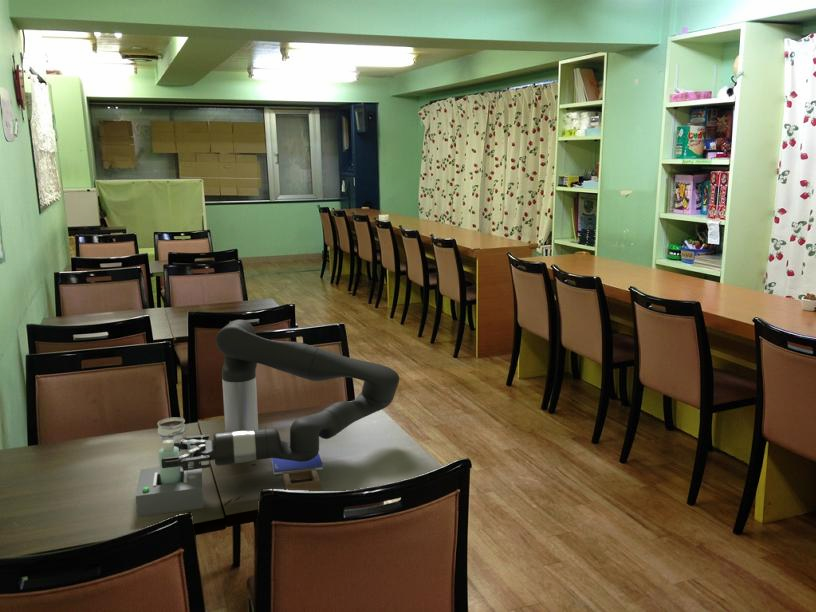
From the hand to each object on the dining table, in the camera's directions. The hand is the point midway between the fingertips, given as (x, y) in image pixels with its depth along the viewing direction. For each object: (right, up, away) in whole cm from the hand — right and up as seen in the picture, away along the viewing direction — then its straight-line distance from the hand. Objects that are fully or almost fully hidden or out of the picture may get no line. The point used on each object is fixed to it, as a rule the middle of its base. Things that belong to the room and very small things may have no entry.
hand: (162, 455), depth 158 cm
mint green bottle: (+1, -10, +3) cm, 11 cm away
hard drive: (+28, -8, +20) cm, 35 cm away
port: (+1, -10, +3) cm, 11 cm away
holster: (+31, -9, +9) cm, 33 cm away
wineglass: (-4, -7, +20) cm, 21 cm away
